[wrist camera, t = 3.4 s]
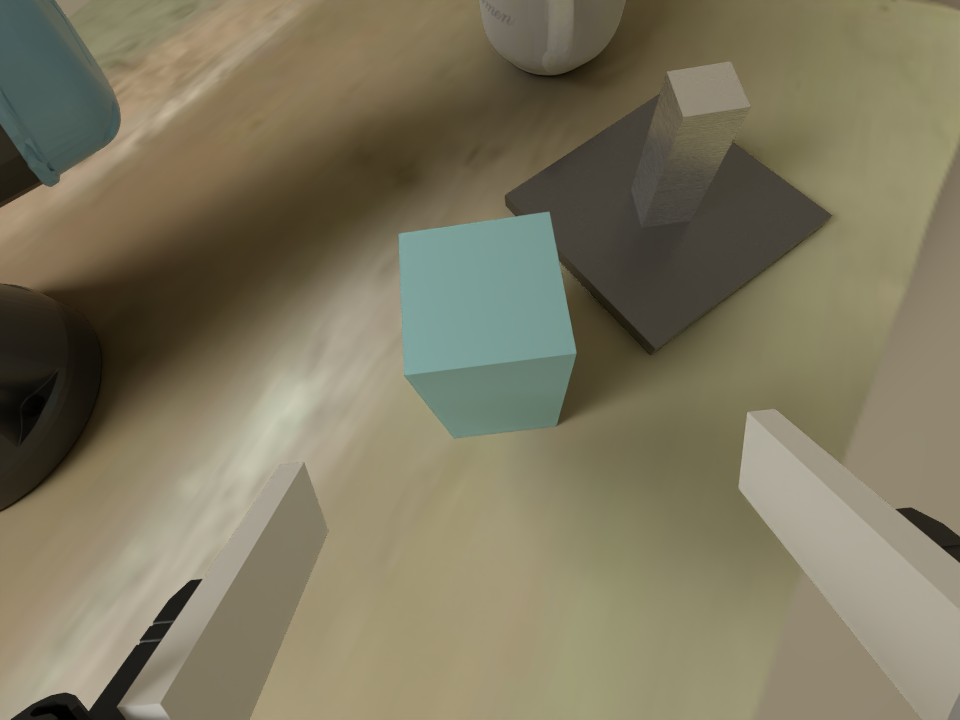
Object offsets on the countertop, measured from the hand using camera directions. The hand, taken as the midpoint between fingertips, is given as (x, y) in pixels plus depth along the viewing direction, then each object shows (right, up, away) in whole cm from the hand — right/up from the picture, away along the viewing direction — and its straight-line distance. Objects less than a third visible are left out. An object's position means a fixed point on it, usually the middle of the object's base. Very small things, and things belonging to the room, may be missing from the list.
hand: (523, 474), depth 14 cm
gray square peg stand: (+10, +13, +16) cm, 23 cm away
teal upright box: (0, +2, +13) cm, 13 cm away
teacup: (+4, +27, +22) cm, 35 cm away
